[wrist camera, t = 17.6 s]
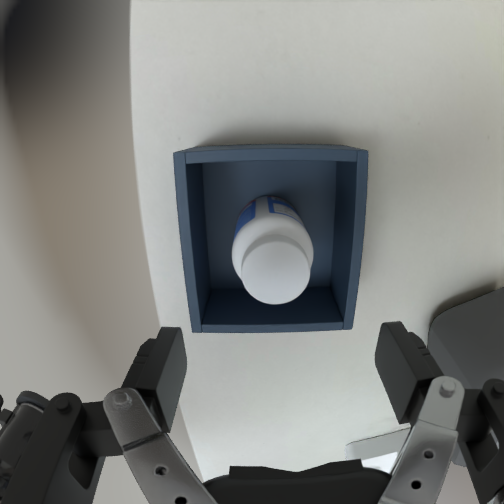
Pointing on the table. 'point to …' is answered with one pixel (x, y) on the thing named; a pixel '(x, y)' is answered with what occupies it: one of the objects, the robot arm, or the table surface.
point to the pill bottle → (272, 250)
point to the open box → (310, 212)
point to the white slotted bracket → (377, 450)
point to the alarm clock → (470, 345)
